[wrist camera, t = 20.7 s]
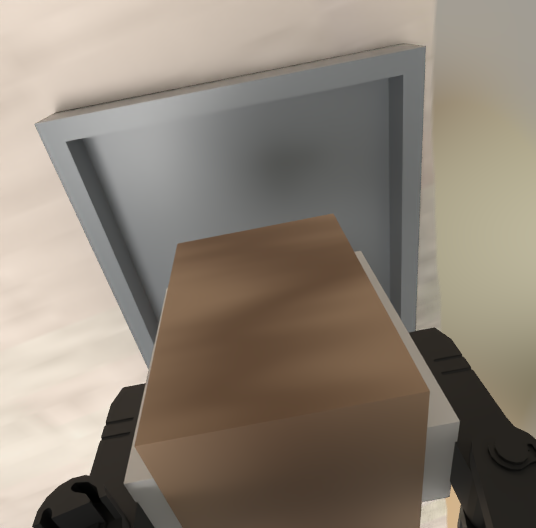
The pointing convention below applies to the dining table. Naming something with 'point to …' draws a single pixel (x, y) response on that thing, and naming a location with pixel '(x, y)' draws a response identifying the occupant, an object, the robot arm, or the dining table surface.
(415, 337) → the robot arm
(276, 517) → the walnut block
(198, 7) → the dining table surface
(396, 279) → the tray
